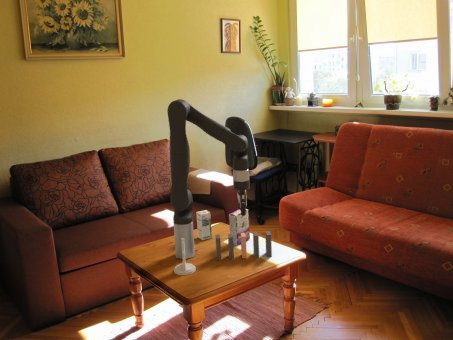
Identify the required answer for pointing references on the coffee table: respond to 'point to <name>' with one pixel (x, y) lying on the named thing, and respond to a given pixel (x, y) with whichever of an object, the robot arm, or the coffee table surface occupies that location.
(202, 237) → the syrup box
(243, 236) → the domino
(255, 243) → the domino
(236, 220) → the candy bar box
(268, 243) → the domino
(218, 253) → the domino
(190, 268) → the white paper towel holder
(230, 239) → the domino
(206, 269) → the coffee table surface
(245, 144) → the robot arm
